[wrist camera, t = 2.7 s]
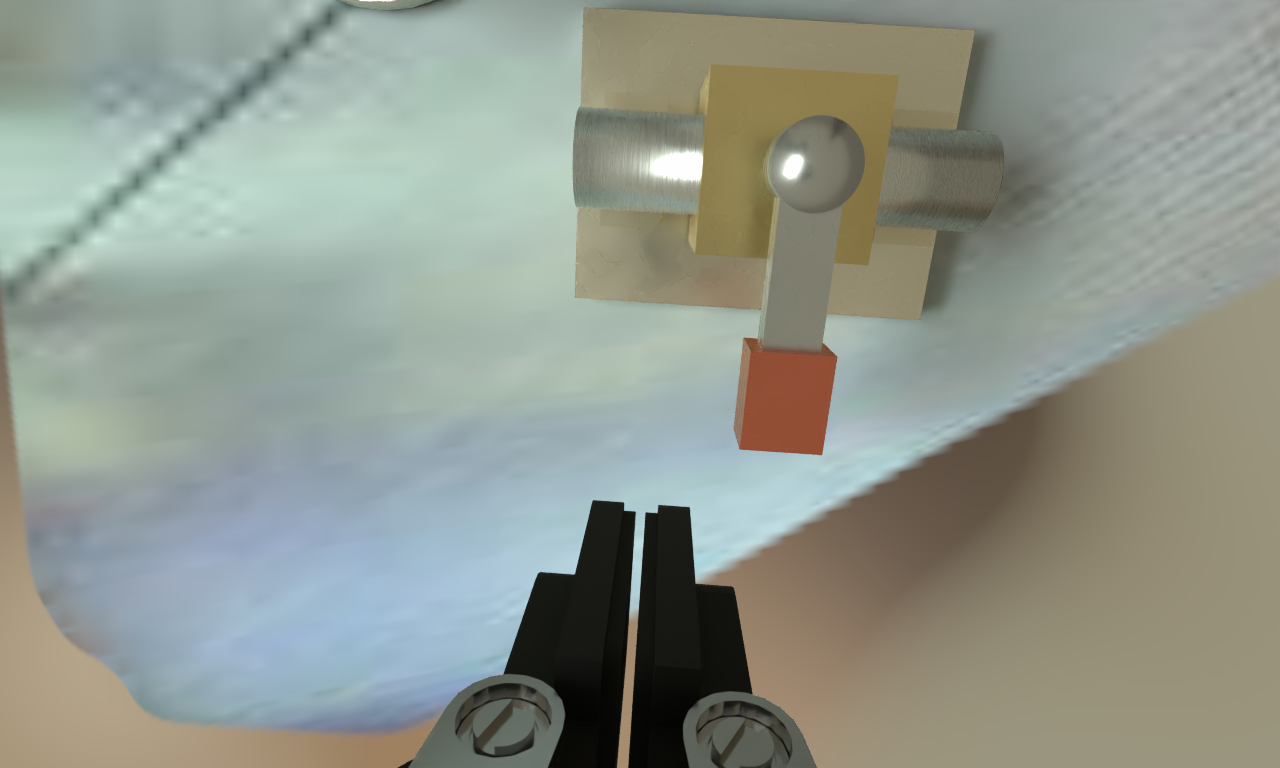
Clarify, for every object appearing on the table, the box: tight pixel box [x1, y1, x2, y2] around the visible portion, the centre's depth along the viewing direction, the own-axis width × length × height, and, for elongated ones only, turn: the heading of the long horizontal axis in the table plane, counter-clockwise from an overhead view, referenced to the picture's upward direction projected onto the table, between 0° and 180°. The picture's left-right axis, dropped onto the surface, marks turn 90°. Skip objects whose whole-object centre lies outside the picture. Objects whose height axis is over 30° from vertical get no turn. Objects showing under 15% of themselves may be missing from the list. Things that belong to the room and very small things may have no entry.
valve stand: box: [573, 7, 1004, 320], centre depth 25 cm, size 12×16×10 cm
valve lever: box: [734, 115, 865, 455], centre depth 20 cm, size 10×3×2 cm, turn 177°
